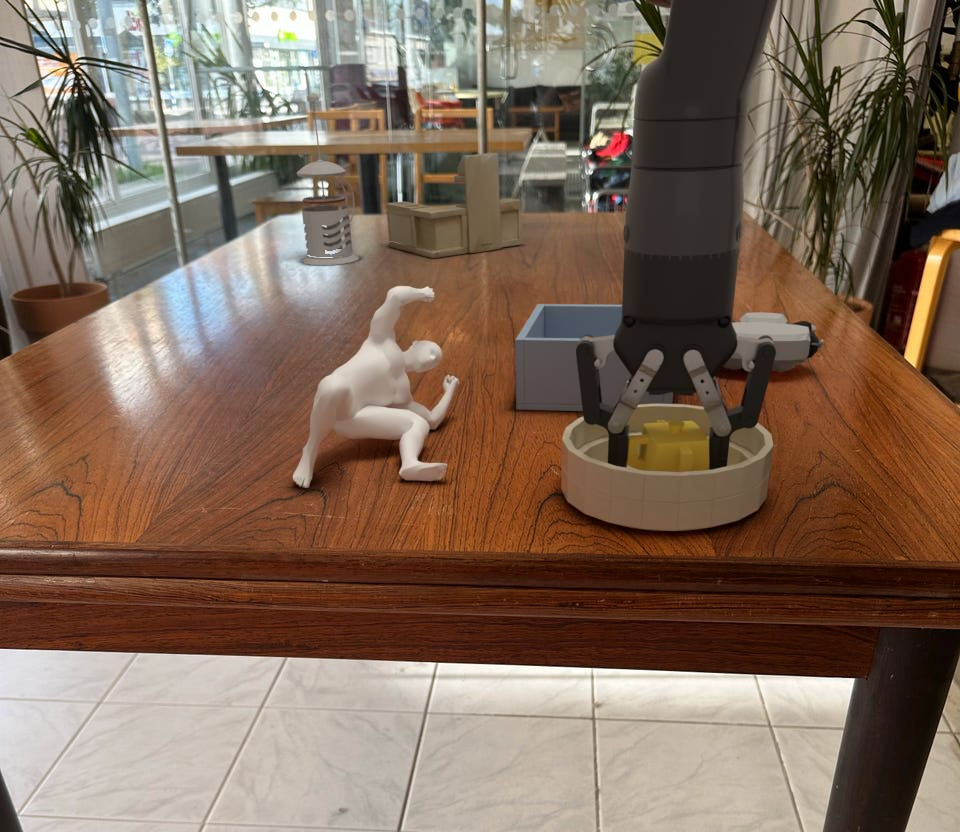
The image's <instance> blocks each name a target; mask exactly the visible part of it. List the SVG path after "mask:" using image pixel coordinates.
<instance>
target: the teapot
mask: <svg viewBox="0 0 960 832" xmlns="http://www.w3.org/2000/svg"><path fill="white" fill-rule="evenodd" d="M637 444H640V449H639V457H637ZM626 463H627V465H628V466H630V467H632V468H635V469H638V470H644V471H662V472H689V471H702V470H709V440H708V438H707V436H706V435H705V434H704V432H703V431H702V430H701V429H700V427H699V426H698V425H697V424H696V423H695V422H693V421H679V420H672V421H669V422H665V421H664V420H657V423H645V424H644V425H643V430H642V435H637V436H630V437H628V443H627V457H626Z"/></svg>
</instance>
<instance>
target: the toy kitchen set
mask: <svg viewBox="0 0 960 832" xmlns="http://www.w3.org/2000/svg"><path fill="white" fill-rule="evenodd" d="M499 172H500V171H499V154H498V152H487V153H486V152H485V153H477V154H467V155H466V154H465V155H462V157H461V160H460V162H459V165H458V167H457V175H454V176H453V181H454V183H464V185H465V201H466V203H463V204H457V205H455V206H454V205H453V206H452V205H450V206H449V205H446V206H445V205H444V206H430V205H425V204H420V203H414V202H409V201H395V202H387V203H386V219H387V231H388V232H387V233H388V241H389V247H390V248H393V249H397V250H401V251H405V252H409V253H412V254H415V255H418V256H422V257H426V258H430V259H434V260H435V259H439V258H445V257H450V256H451V257H452V256H457V255H465V254H476V253H482V252H489V251H496V250H501V249H502V248H508V247H514V246H521V245H522V244H523V239H522V238H523V230H522V229H523V227H522V225H523V224H522V199H517V198H503V199H500V175H499V174H500V173H499ZM390 241H394V242H398V243H402V244H406V245H410V246H413V247H410V246H406V245H402V244H398V243H394V242H390ZM414 247H415V248H414ZM419 247H422V248H419ZM424 248H426V249H424ZM427 249H429V250H427ZM431 250H432V251H431Z"/></svg>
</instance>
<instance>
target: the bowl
mask: <svg viewBox="0 0 960 832" xmlns="http://www.w3.org/2000/svg"><path fill="white" fill-rule="evenodd" d="M657 420H664V421H665V422H669V421H672V420H679V421H693V422H695V423H696V424H697V425H698V426H699V427H700V429H701V430H702V431H703V432H704V434H705V435H706V436H707V438H708V440H709V434H710V427H712V425H711V422H710V420H709V418H708V415H707V413H706V411H705V410H704V408H703V406H701V405H700V406H699V405H691V404H684V403H672V404H641V405H638V406H637V407H636V409H635V410H634V411H633V413H632V415H631V417H630V418H629V420H628V422H627V424H626V425H629V436H628V437H630V436H637V435H642V430H643V425H644V424H645V423H657ZM608 439H609V435H608V432H607V430H606V429H605V428H604V427H602V426H599V425H597V424H594V425H589V424H587V423H586V422H585V421H584V417H583V416H580V417H578V418H577V419H575V420H574V421H573V422H571V423H570V424H568V425H567V426H566V427H565V428H564V431H563V433H562V436H561V460H560V461H561V463H560V464H561V467H560V469H561V470H560V471H561V475H560V476H561V477H560V478H561V479H560V480H561V481H560V490H561V492H562V494H563V496H564V498H565V500H566V501H567V503H568V504H570V505H571V506H572V507H574V508H575V509H577V510H578V511H580V512H581V513H583V514H584V515H587V516H590V517H593V518H595V519H597V520H601V521H603V522H606V523H609V524H614V525H618V526H622V527H626V528H631V529H638V530H645V531H654V532H655V531H656V532H685V531H695V530H703V529H704V530H705V529H709V528H714V527H718V526H722V525H727V524H730V523H734V522H737V521H740V520H742V519H744V518H746V517H748V516H749V515H752V514H753V513H755V512H757V511H758V510H759V509H760V507H762V505H763V503H764V502H765V501H766V499H767V497H768V491H769V490H768V489H769V483H770V476H771V475H770V474H771V468H772V461H773V454H774V440H773V435H772V433H771V432H770V431H769V430H767V429H766V428H765V427H764V426H763V425H762V424H761V423H759V422H758V423H757V425H756V426H755V427H753V428H749V429H748V428H742V429H739V430H736V431H735V432H733V433H732V435H731V436H730V441H729V450H728V460H727V466H726V467H722V468H717V469H713V470H702V471H689V472H662V471H644V470H638V469H635V468H632V467H630V466H628V465H627V468H625V467H619V466H615V465H612V464H609V463H608ZM639 449H640V444H637V457H639Z"/></svg>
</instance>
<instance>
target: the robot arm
mask: <svg viewBox="0 0 960 832" xmlns="http://www.w3.org/2000/svg"><path fill="white" fill-rule="evenodd" d="M645 1H646V2H647V3H649V4H651V5H653V6H656V7H659V8H663V9H670V10H669V15H668V20H667V25H666V32H665V37H664V43H663V47H662V50H661V52H660V54H659V55H658V57H656V58H655V59H653V60H652V61H651V62H649V63H648V64H646V66H645V67H644V68H643V69H642V70H641V72H640V74H639V76H638V79H637V83H636V88H635V97H634V105H633V120H632V121H633V123H632V143H631V144H632V145H631V165H632V166H631V168H630V179H629V184H628V191H627V197H626V205H625V220H624V226H623V231H622V234H623V241H624V245H623V246H624V249H623V251H624V253H623V273H622V274H623V275H622V279H623V280H622V296H621V297H622V299H621V300H622V301H621V305H622V318H621V324H620V326H619V328H618V330H617V331H616V333H615V335H610V336H602V337H593V336H592V335H590V334H586V335H583V336H582V337H581V338H580V340H579V342H578V345H577V348H576V358H577V366H578V375H579V383H580V392H581V400H582V408H583V411H582V415H583V416H582V417H584V421H585V422H586V423H587V424H589V425H594V424H597V425H599V426H602V427H604V428H605V429H606V430H607V432H608V435H609V439H608V463H609V464H612V465H615V466H619V467H625V468H627V463H626V457H627V443H628V436H629V425H626V424H627V422H628V420H629V418H630V417H631V415H632V413H633V411H634V410H635V409H636V407H637V406H638V404H639V402H640V400H641V399H642V397H643V395H644V393H645V392H649V395H662V394H666V393H670V392H672V393H673V394H676V395H679V396H685V397H686V396H691V397H692V396H694V394H697V396H698V398H699V401H700V403H701V405H702V407H703V408H704V410H705V411H706V413H707V415H708V418H709V420H710V422H711V425H712V427H710V434H709V470H713V469H717V468H722V467H726V466H727V460H728V450H729V441H730V436H731V435H732V433H733V432H735V431H736V430H739V429H742V428H748V429H749V428H753V427H755V426H756V425H757V423H759V419H760V416H761V412H762V408H763V405H764V404H763V403H764V402H765V401H764V400H765V398H766V393H767V389H768V385H769V382H770V377H771V373H772V367H773V363H774V359H775V356H776V349H775V345H774V341H773V339H772V338H771V337H770V336H767V335H764V336H761V337H760V338H759V339H754V338H747V337H740V336H737V335H736V332H735V330H734V328H733V325H732V321H733V317H734V316H733V315H734V307H735V306H734V303H735V293H736V285H737V275H738V274H737V273H738V264H739V263H738V262H739V253H740V243H741V238H742V236H743V232H744V231H743V229H744V227H743V214H744V201H745V200H744V199H745V197H744V195H745V194H744V164H743V163H744V160H745V151H746V150H745V149H746V140H747V129H748V121H749V110H750V94H751V93H750V92H751V87H752V85H753V80H754V77H755V74H756V71H757V68H758V66H759V63H760V60H761V56H762V54H763V51H764V48H765V44H766V42H767V38H768V34H769V32H770V28H771V25H772V21H773V17H774V14H775V10H776V8H777V4H778V0H645ZM613 351H615V352H616V354H617V355H618V357H619V358H620V360H621V361H622V363H623V364H624V366H625V367H626V369H627V370H628V371H629V373H630V374H631V375H630V377H629V379H628V380H627V382H626V384H625V386H624V388H623V390H622V393H621V394H620V396H619V398H618V400H617V402H616V404H615V405H614V407H612V406H609V405H607V404H604V403H602V394H601V385H600V376H599V369H602V368H603V367H604V366H605V365H606V362H607V356H608V355H609V353H611V352H613ZM734 352H735V353H738V354H739V355H740V356H741V362H742V367H743V368H742V369H743V370H744V371H745V372H748V373H747V378H746V382H745V384H744V389H743V393H742V397H741V401H740V405H738V406H734V407H732V408H729V409H728V406H727V404H726V402H725V399H724V397H723V393H722V392H721V388H720V385H719V383H718V380H717V378H716V375H717V374H718V373H719V372H720V371H721V369H722V368H724V367H723V366H724V365H725V363H726V362H727V361H728V360H729V359H730V358H731V356H732V355H733V354H734Z"/></svg>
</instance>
